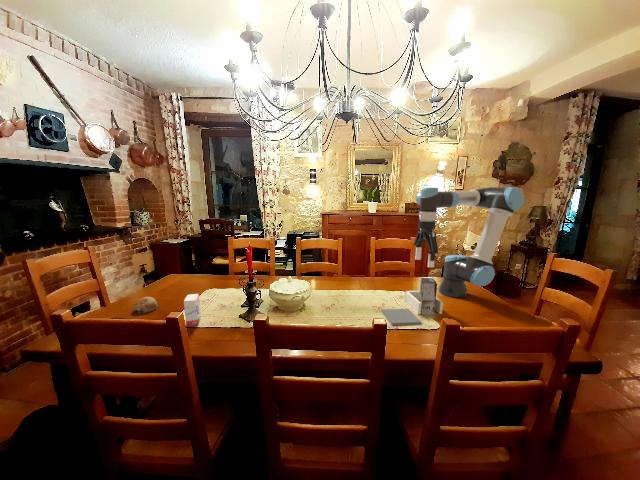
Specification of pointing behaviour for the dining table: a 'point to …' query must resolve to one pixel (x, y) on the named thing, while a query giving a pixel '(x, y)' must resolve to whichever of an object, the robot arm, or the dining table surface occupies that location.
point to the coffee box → (427, 295)
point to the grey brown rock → (145, 305)
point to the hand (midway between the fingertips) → (424, 263)
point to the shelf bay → (414, 303)
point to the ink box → (192, 309)
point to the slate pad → (400, 316)
